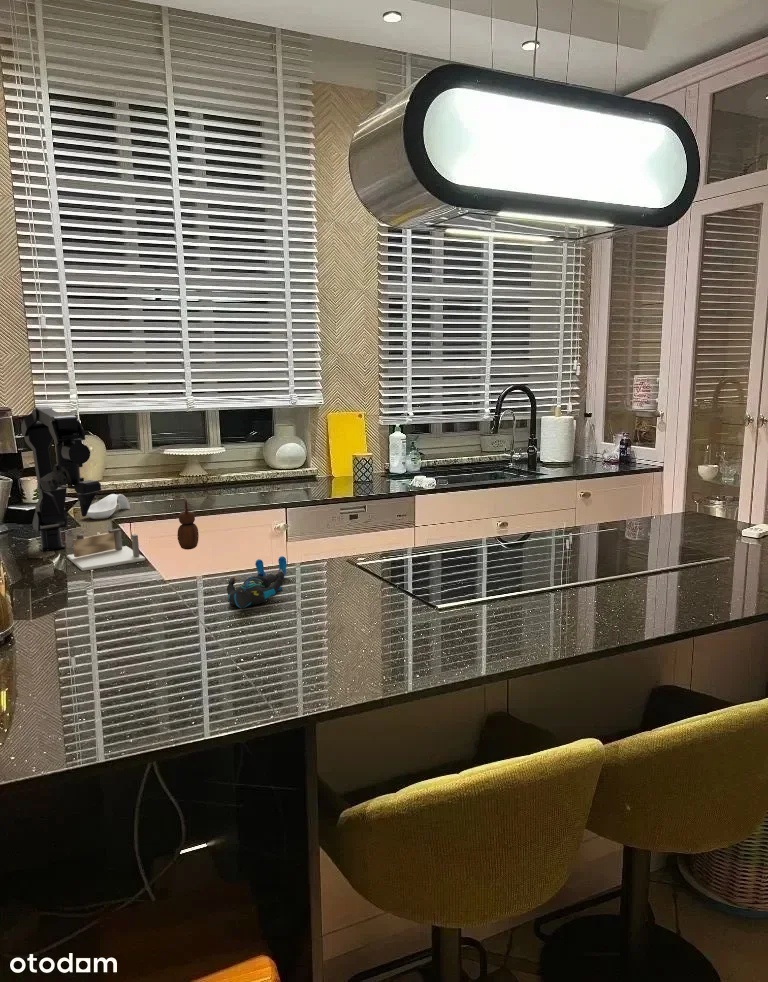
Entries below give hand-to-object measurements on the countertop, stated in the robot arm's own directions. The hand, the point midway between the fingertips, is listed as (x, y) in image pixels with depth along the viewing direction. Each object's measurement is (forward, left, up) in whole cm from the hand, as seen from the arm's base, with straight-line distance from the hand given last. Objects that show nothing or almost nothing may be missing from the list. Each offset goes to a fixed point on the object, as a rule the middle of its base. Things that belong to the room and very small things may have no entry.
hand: (72, 515), depth 214 cm
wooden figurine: (+8, +30, -13) cm, 34 cm away
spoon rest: (-69, +26, -14) cm, 75 cm away
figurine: (+66, +26, -14) cm, 72 cm away
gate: (-1, +6, -12) cm, 13 cm away
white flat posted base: (+4, +7, -13) cm, 15 cm away
